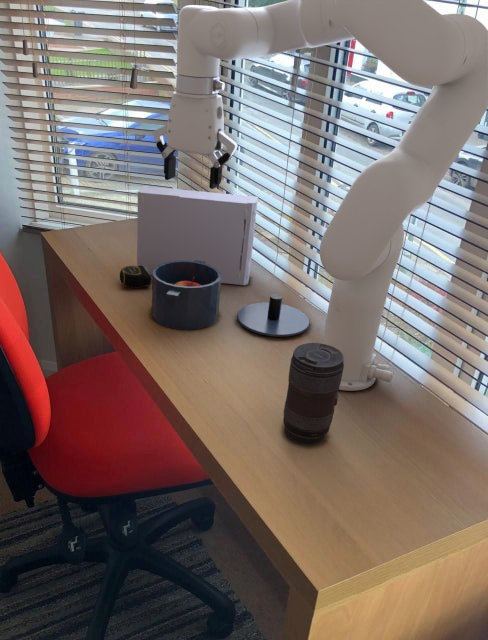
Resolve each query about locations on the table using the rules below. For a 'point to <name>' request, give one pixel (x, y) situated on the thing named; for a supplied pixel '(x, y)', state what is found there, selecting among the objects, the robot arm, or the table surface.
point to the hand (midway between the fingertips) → (191, 182)
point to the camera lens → (312, 392)
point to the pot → (185, 294)
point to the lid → (273, 318)
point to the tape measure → (134, 276)
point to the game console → (196, 230)
